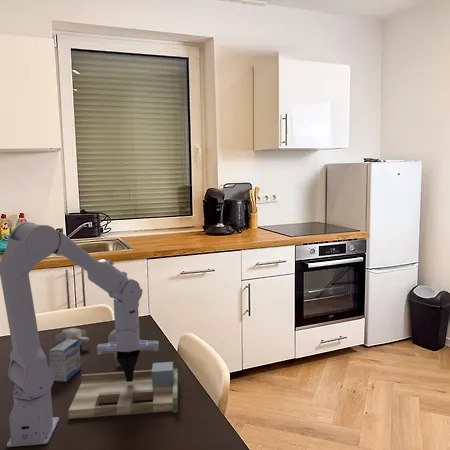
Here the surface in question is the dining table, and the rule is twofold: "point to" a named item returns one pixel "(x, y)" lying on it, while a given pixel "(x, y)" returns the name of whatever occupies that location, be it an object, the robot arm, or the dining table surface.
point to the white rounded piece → (72, 335)
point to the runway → (122, 395)
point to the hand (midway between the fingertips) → (129, 379)
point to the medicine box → (65, 360)
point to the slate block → (162, 374)
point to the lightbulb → (111, 339)
